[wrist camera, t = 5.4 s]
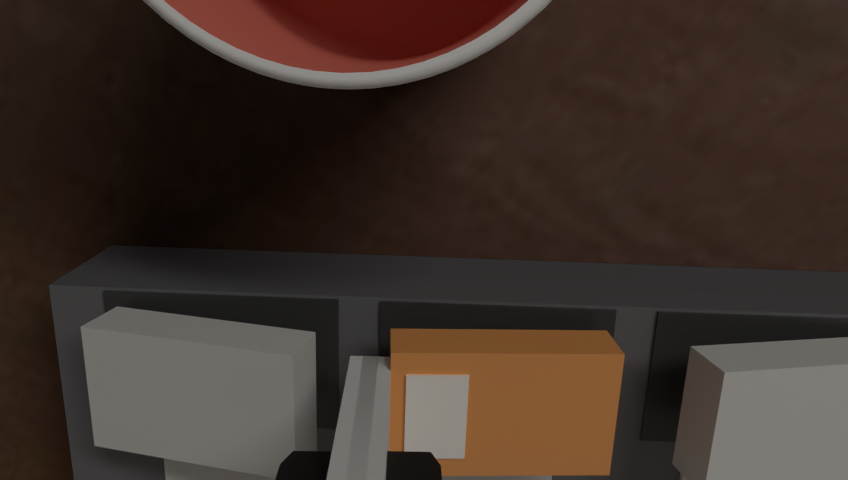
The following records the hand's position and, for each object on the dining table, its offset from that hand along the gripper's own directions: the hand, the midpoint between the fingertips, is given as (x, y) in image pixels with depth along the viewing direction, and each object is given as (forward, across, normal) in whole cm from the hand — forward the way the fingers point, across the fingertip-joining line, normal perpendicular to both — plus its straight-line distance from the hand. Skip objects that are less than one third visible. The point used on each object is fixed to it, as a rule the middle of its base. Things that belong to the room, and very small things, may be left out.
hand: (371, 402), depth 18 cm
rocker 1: (+1, -4, 0) cm, 5 cm away
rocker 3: (0, +12, 0) cm, 12 cm away
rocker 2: (+1, +4, 0) cm, 4 cm away
